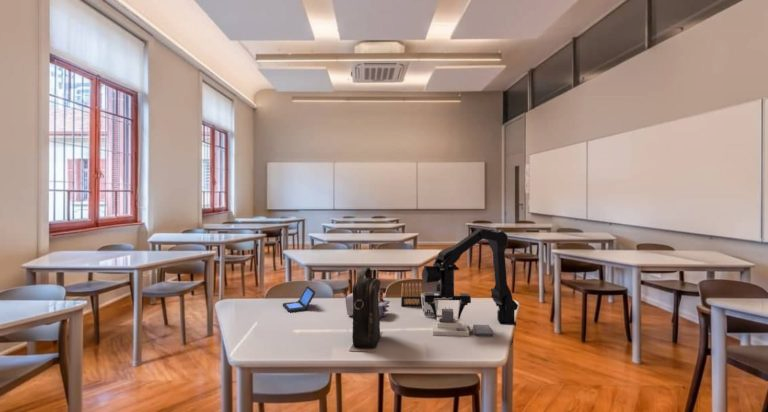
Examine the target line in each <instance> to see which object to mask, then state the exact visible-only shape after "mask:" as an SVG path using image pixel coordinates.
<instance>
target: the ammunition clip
mask: <svg viewBox="0 0 768 412" xmlns="http://www.w3.org/2000/svg"><path fill="white" fill-rule="evenodd" d="M422 286H423V285H422V282H419V284H418V282H415V283H414V282H412V285H411V282H409V283H408V282H406V283H404V282H402V283H401V291H400V292H401V299H400V300H401V301H400V307H402V308H404V307H405V308H407V307H411V308H413V307H414V308H415V307H416V308H422V301H421V294H422V293H423V287H422Z"/></svg>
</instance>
